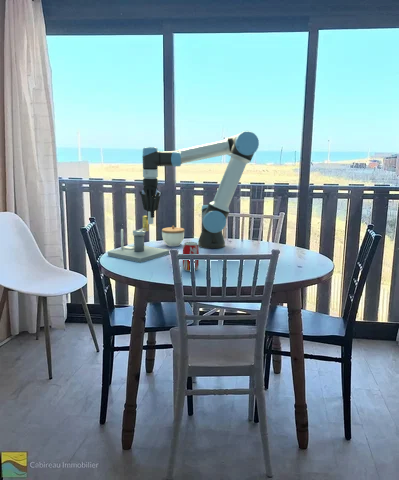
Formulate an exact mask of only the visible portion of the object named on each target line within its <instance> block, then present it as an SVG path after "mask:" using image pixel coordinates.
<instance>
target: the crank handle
mask: <svg viewBox="0 0 399 480" xmlns="http://www.w3.org/2000/svg"><path fill="white" fill-rule="evenodd" d="M148 232H149V224H148V217H147V215H142V227H141V228H140V229H134V230H132V236H133V237H134V236H144V237H145V236H146V233H148Z"/></svg>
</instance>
